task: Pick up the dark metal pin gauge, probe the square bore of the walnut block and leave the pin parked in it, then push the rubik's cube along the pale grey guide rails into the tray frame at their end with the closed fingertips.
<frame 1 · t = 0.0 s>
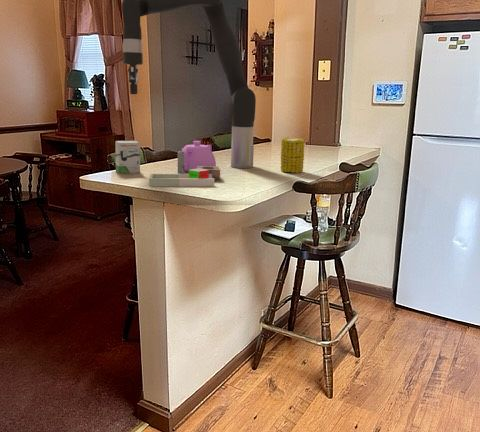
hand: (134, 94, 191), 29 cm above the table, fingers open, 8 cm apart
purple bag: (196, 170, 193), on the table
ink box: (128, 172, 184), on the table
food: (291, 172, 196), on the table
bore block: (208, 178, 175), on the table
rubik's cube: (198, 184, 166), on the table
tray: (165, 183, 164), on the table
guide rails: (195, 183, 166), on the table
pin gauge: (181, 179, 173), on the table
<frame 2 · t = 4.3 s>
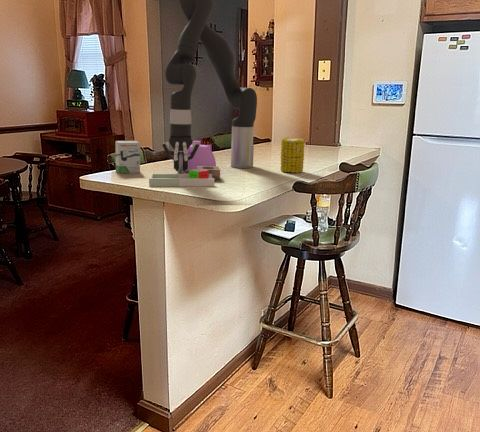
hand: (180, 170, 172), 3 cm above the table, fingers closed on pin gauge, 2 cm apart
pin gauge: (180, 179, 173), on the table, touching gripper
everything else where it was.
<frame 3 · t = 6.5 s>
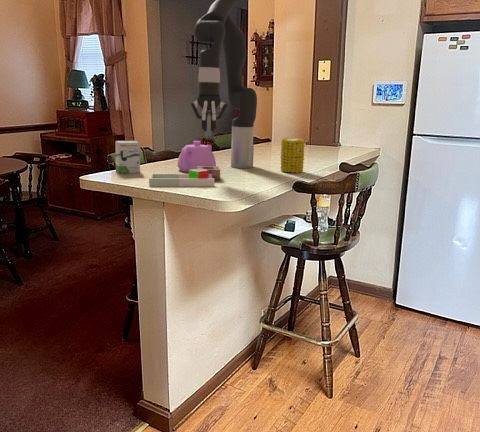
hand: (208, 130, 171), 18 cm above the table, fingers closed on pin gauge, 2 cm apart
pin gauge: (208, 139, 172), point 14 cm above the table, touching gripper
everything else where it was.
when the fingers open (5 cm above the table, at t = 8.8 s): pin gauge drops 2 cm, resting in bore block.
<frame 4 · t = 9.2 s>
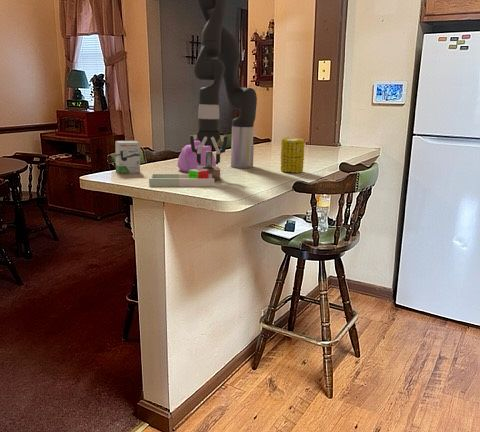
hand: (208, 163, 174), 6 cm above the table, fingers open, 6 cm apart
pin gauge: (208, 178, 175), resting in bore block
everything else where it was.
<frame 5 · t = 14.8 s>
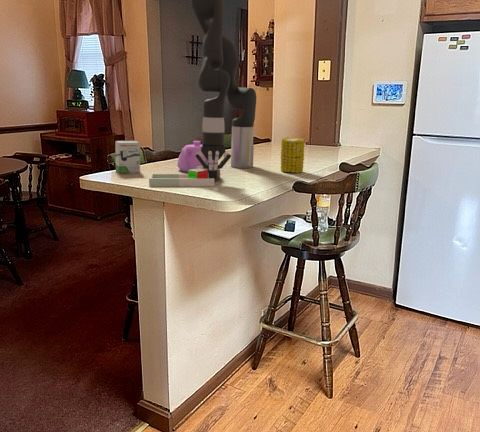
hand: (212, 180, 166), 1 cm above the table, fingers closed
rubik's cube: (197, 184, 166), on the table, touching gripper
everything else where it was.
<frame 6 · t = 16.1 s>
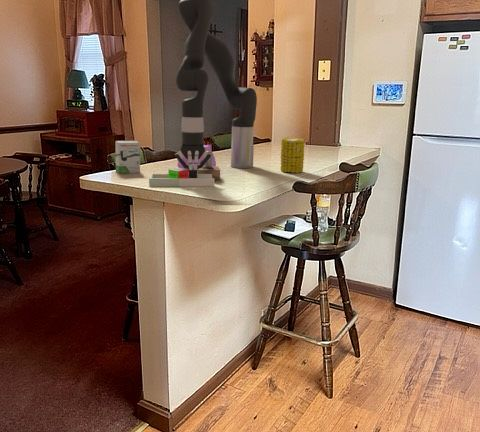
hand: (192, 180, 166), 1 cm above the table, fingers closed
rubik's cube: (178, 184, 165), on the table, touching gripper, tray
everything else where it was.
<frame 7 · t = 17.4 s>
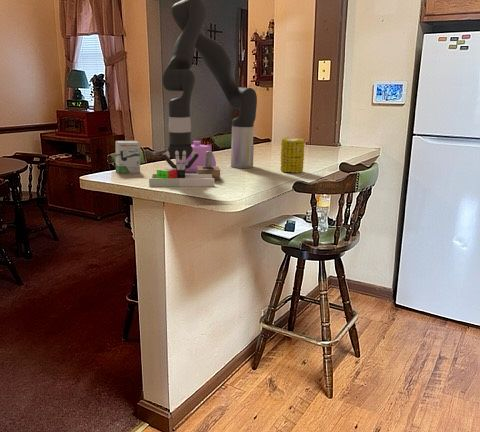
hand: (181, 179, 166), 1 cm above the table, fingers closed
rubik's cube: (167, 184, 164), on the table, touching gripper
everything else where it was.
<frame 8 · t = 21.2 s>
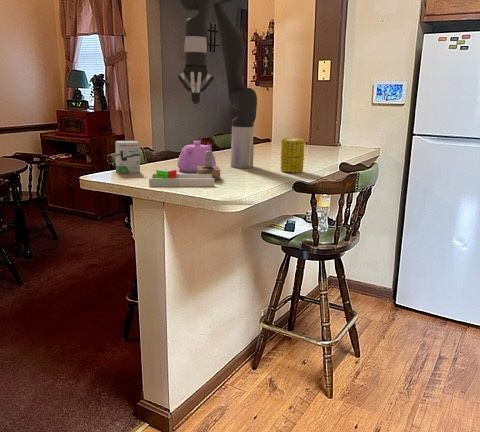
hand: (195, 103, 165), 27 cm above the table, fingers closed
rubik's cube: (166, 184, 164), on the table
everything else where it was.
at the end: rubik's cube inside the target area on the tray (0.6 cm from its centre), point 0.0 cm above the tray's base; pin gauge 0.1 cm from the bore block (horizontally); the gripper is holding nothing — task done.
